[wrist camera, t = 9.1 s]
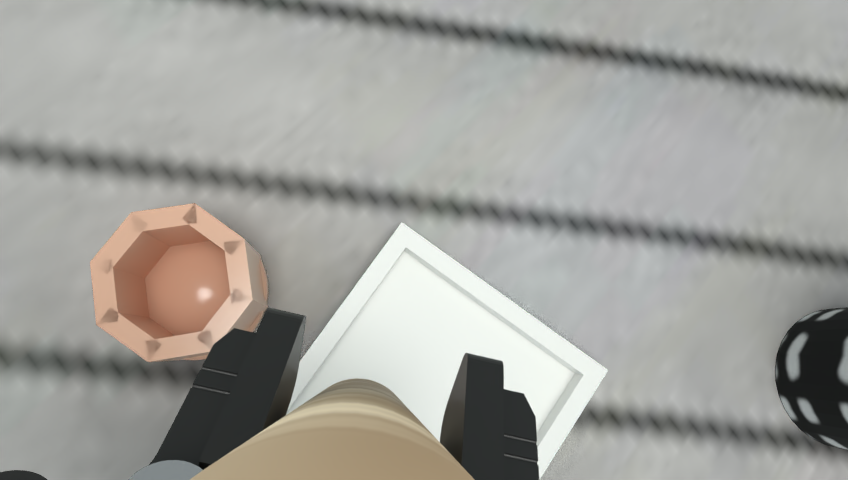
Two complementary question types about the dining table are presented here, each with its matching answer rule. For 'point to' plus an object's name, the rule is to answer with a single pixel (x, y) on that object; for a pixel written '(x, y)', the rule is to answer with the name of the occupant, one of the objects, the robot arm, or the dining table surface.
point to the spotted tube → (817, 375)
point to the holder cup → (177, 283)
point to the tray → (445, 342)
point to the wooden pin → (342, 442)
